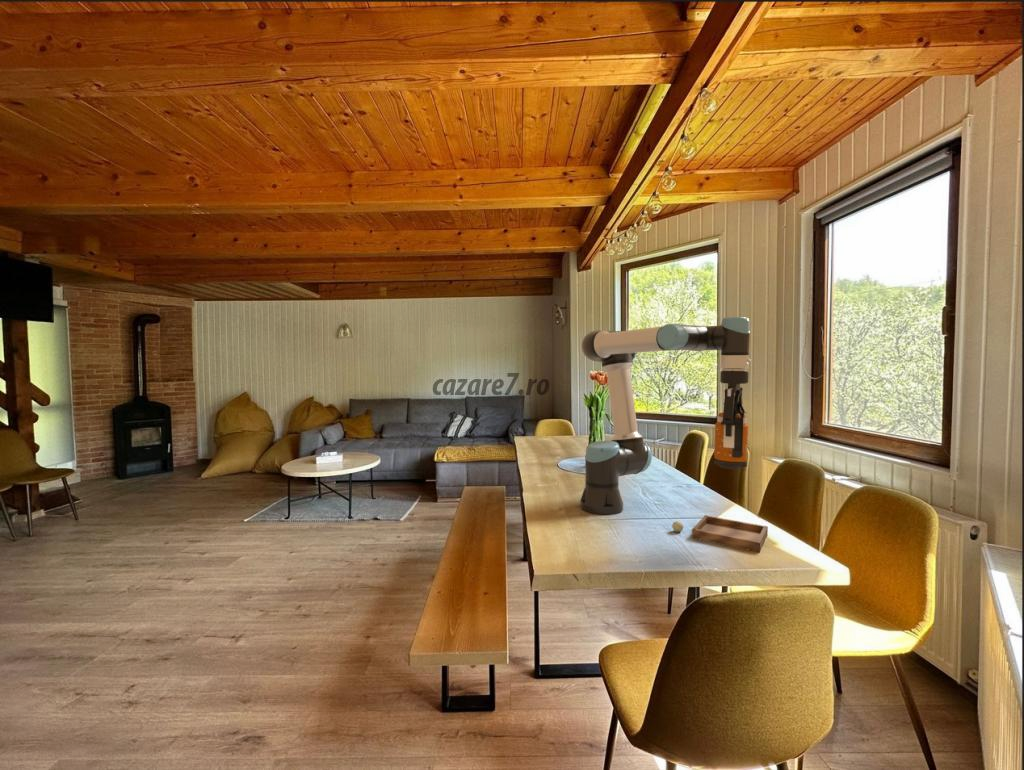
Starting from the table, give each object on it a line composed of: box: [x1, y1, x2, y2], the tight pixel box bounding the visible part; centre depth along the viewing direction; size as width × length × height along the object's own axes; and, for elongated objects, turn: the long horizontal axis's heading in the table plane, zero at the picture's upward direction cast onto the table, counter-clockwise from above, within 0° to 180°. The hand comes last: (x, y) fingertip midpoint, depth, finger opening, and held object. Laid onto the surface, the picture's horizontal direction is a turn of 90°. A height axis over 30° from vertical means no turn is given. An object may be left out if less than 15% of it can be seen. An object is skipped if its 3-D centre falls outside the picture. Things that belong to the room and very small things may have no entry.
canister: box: [713, 401, 749, 470], centre depth 139 cm, size 9×11×20 cm
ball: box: [671, 520, 684, 533], centre depth 145 cm, size 3×3×3 cm
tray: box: [691, 514, 769, 553], centre depth 141 cm, size 18×16×3 cm
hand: (732, 444), depth 140 cm, fingers closed on canister, 10 cm apart
